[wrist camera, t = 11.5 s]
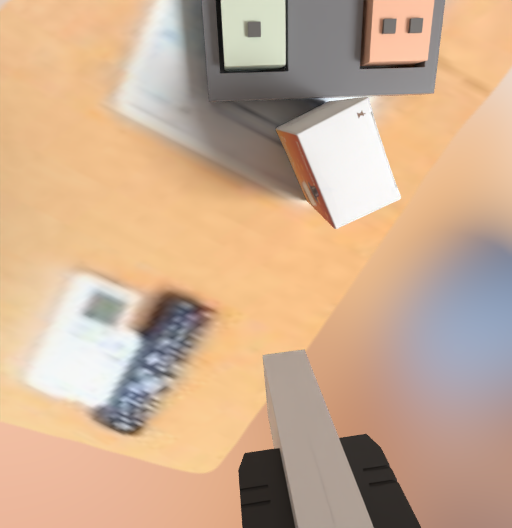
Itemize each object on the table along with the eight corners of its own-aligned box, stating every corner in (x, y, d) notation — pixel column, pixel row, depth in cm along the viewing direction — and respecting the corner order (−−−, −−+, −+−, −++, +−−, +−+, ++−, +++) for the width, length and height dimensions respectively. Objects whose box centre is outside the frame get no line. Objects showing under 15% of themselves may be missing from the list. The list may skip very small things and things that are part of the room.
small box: (273, 127, 36) (293, 131, 26) (328, 100, 35) (369, 93, 26) (306, 203, 39) (334, 232, 29) (357, 178, 38) (403, 199, 28)
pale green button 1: (224, 70, 34) (224, 65, 31) (220, 4, 32) (220, -9, 29) (280, 68, 34) (286, 64, 31) (279, 2, 32) (285, -10, 29)
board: (209, 101, 35) (208, 101, 33) (199, -32, 31) (198, -42, 29) (422, 94, 36) (433, 93, 34) (437, -35, 32) (450, -44, 30)
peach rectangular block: (357, 66, 34) (370, 61, 31) (361, 1, 33) (375, -12, 30) (411, 65, 35) (429, 59, 32) (417, 0, 33) (437, -12, 30)
